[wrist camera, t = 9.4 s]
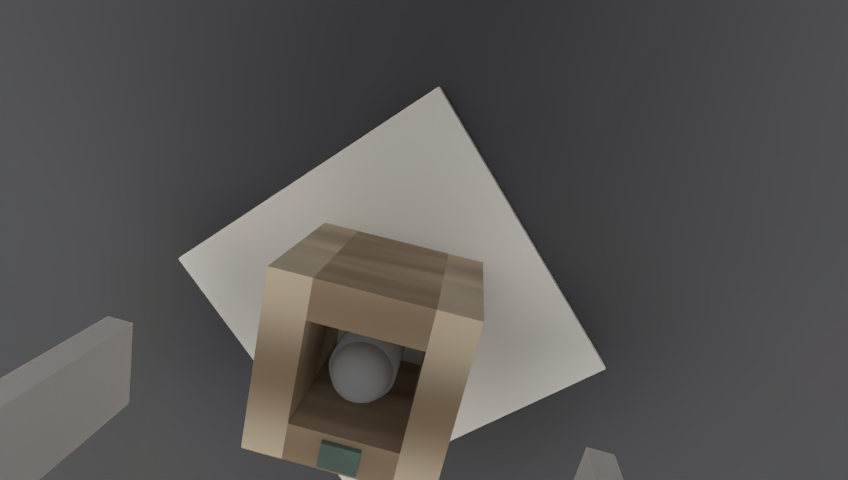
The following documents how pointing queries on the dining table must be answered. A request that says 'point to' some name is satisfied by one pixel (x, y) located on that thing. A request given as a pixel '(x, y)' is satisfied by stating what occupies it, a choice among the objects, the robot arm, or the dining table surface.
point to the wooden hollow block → (373, 317)
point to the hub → (422, 226)
